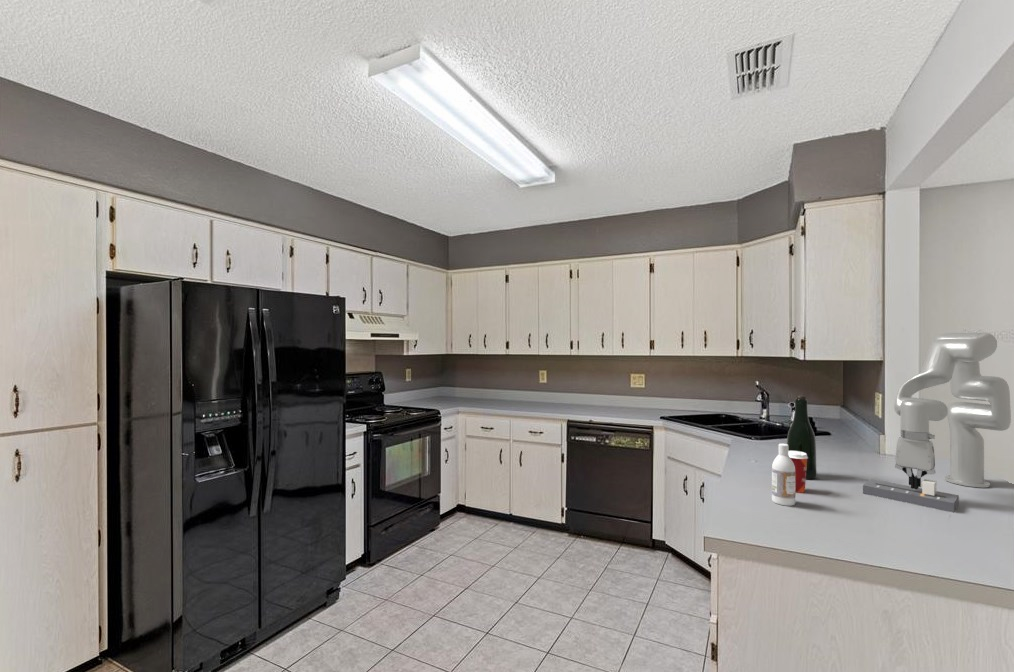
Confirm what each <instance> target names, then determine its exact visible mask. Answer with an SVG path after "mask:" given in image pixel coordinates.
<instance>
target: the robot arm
mask: <svg viewBox="0 0 1014 672" xmlns="http://www.w3.org/2000/svg"><path fill="white" fill-rule="evenodd" d="M997 347H998V340H997V338H996V337H995V335H993V334H992V333H988V332H946V333H939V334H937V335H936V336H934V338H933V341H932V342H931V343H929V347H928V349H927V352H926V355H925V357H924V362H923V364H922V367H921V370H920V372H919V373H917V374H915V375H914V376H912V377H910V378H909V379H908V380H906V381H904V383H903V384H901V386H900V387H899V389H898V392H897V394H896V396H895V399H894V400H895V401H894V406H893V407H894V412H895V413H896V415H898V416H899V417H900V437H899V436H898V437H897V438H898V439H897V441H896V447H895V465H894V467H895V469H897V470H900V471H902V472H903V473H905V474H906V476H907V477H908V486H911V488H912V489H913V488H914V489H918V488H922V487H921V486H922V481H921V480H922V479H921V478H922V477H924V476H927V475H928V476H929V475H936V469H935V468H936V457H935V456H936V455H935V449H934V448H935V447H934V443H933V441H932V440H931V439H935V438H936V435H935V434H931V432H930V421H932V422H939V421H942V420H944V419H945V418H946V417H947V422H948V428H949V475H945V476H944V480H945V481H946V482H949V483H952V484H955V485H960V486H963V487H964V486H965V487H969V488H970V487H972V488H985V489H986V488H989V487H991V484H990V482H989V481H987V480H985V440H984V437H983V436H982V434H981V433H980V432H979V431H978V430H977V429H982V430H990V431H999V432H1000V431H1002V432H1003V431H1006V430H1008V429H1009V428H1010V426H1011V422H1012V418H1011V417H1012V411H1011V410H1012V409H1011V408H1012V407H1011V393H1010V386H1009V384H1008V382H1007V381H1006V380H1005V378H1002V377H1000V376H990V375H982V374H981V368H980V362H981V361H984V360H985V359H987V358H989V357H990V356H992V355H993V354H995V352H996V350H997ZM946 383H949V385H950V392H951V395H952V396H953V397H955V398H957V399H961V400H971V401H980V402H988V403H979V402H977V403H976V402H967V401H955V402H952V403H950V404H948V406H947V405H946V404H945V403H944V402H942V401H941V400H937V399H929V398H920V397H913V395H915V394H916V393H918V392H919V391H922V390H925V389H929V388H933V387H936V386H940V385H945V384H946ZM914 470H917V471H916V474H914Z"/></svg>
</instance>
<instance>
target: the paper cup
mask: <svg viewBox="0 0 1014 672" xmlns="http://www.w3.org/2000/svg"><path fill="white" fill-rule="evenodd" d="M788 455H789V457H790V458H791V460H792V461H793V463H794V466H795V494H796V493H798V494H801V493H802V494H803V493H805V490H806V480H807V479H806V468H807V458H808V457H807V454H806V453H804V452H799V451H788Z"/></svg>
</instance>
